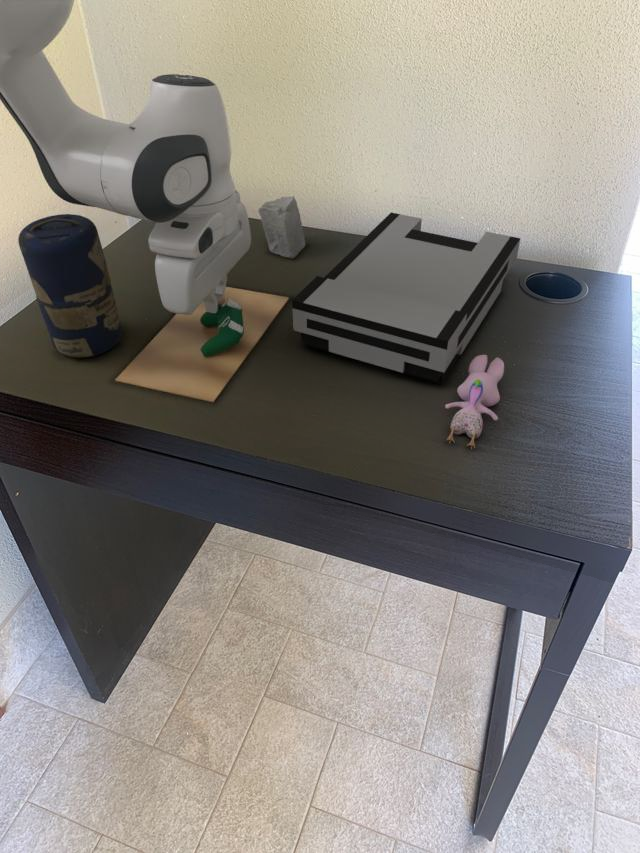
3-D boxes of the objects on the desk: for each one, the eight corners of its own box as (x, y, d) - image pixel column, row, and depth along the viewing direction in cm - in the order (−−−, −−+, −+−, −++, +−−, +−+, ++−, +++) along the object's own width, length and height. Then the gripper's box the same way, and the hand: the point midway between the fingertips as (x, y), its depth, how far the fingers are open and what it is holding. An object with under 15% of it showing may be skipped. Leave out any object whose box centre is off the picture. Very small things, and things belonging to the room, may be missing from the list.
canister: (115, 363, 91) (82, 236, 79) (44, 363, 91) (0, 237, 79) (131, 323, 98) (102, 202, 86) (65, 324, 98) (28, 203, 86)
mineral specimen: (310, 232, 118) (308, 192, 111) (298, 265, 113) (295, 225, 106) (269, 227, 119) (264, 187, 112) (255, 260, 114) (250, 219, 107)
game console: (512, 280, 106) (522, 230, 100) (440, 396, 85) (448, 341, 79) (388, 252, 113) (391, 204, 108) (294, 353, 92) (292, 299, 87)
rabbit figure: (486, 461, 78) (514, 371, 86) (492, 427, 73) (521, 336, 82) (433, 447, 80) (466, 360, 88) (435, 413, 75) (470, 326, 84)
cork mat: (213, 402, 84) (213, 401, 84) (115, 381, 88) (114, 379, 88) (289, 298, 103) (289, 297, 102) (205, 284, 106) (205, 283, 106)
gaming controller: (220, 369, 92) (249, 340, 90) (197, 354, 90) (227, 324, 88) (218, 331, 99) (245, 304, 97) (197, 317, 97) (225, 288, 95)
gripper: (215, 179, 94) (226, 269, 104) (140, 245, 80) (160, 343, 89) (257, 184, 93) (265, 275, 102) (188, 253, 79) (203, 351, 88)
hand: (215, 307), depth 96 cm, fingers closed, pressing on gaming controller
